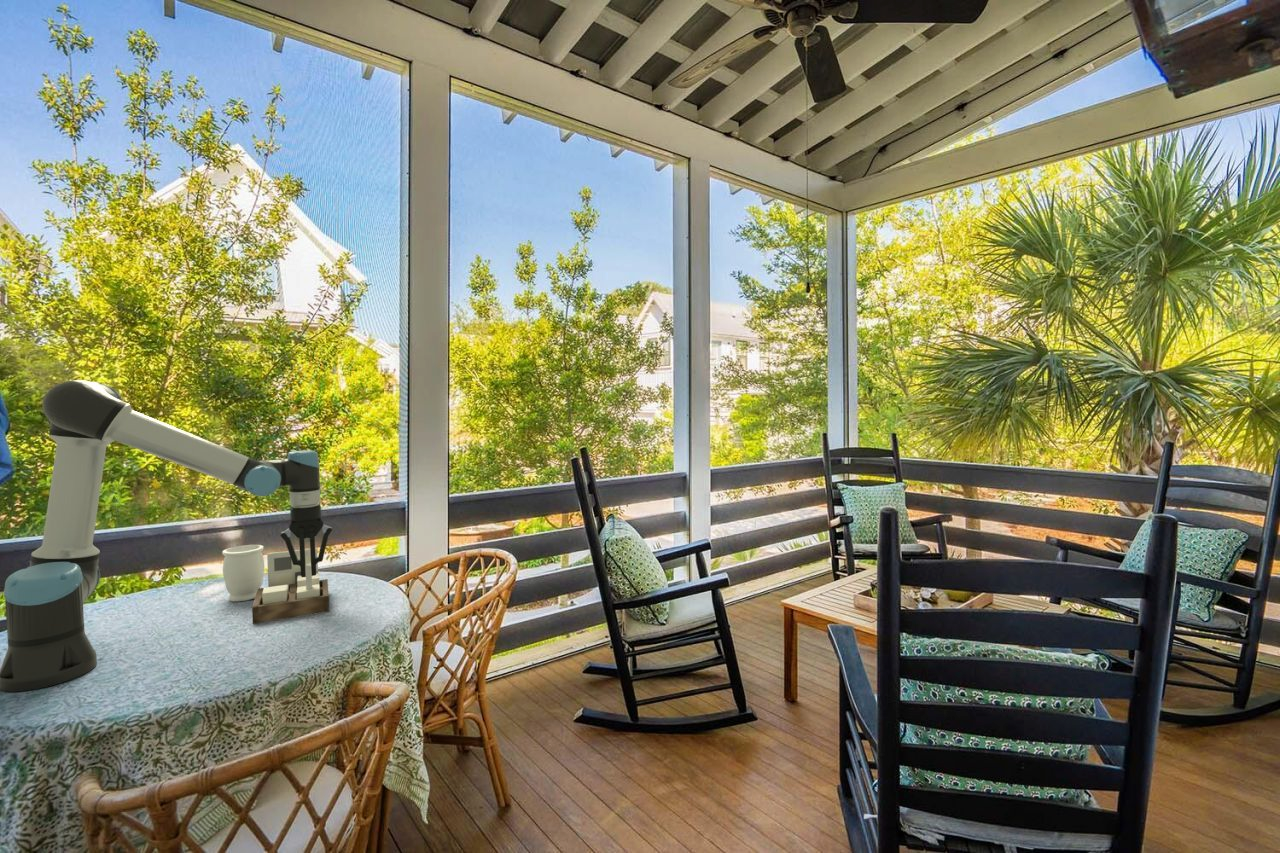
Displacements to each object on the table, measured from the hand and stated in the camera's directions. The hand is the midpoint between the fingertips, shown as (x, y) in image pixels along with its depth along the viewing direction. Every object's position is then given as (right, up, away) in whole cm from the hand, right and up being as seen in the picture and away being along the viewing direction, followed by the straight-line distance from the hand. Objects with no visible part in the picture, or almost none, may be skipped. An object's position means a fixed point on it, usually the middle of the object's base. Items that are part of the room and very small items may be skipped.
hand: (309, 587), depth 165 cm
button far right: (-4, -3, +7) cm, 9 cm away
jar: (-25, -6, +11) cm, 28 cm away
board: (-6, -6, +2) cm, 9 cm away
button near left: (-7, -3, -4) cm, 9 cm away
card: (-11, -6, +11) cm, 17 cm away
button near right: (0, -4, 0) cm, 4 cm away
